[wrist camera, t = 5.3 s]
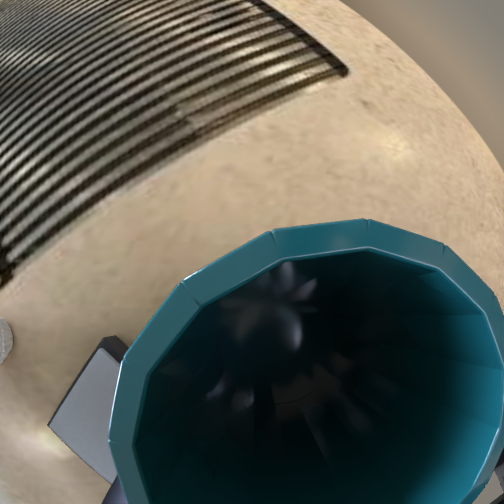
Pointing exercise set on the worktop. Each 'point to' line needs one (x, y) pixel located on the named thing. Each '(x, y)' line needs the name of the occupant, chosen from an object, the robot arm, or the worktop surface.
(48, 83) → the worktop surface
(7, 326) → the white frosted cupcake
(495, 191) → the worktop surface
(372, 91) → the worktop surface
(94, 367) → the scale
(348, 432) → the cup
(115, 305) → the worktop surface
